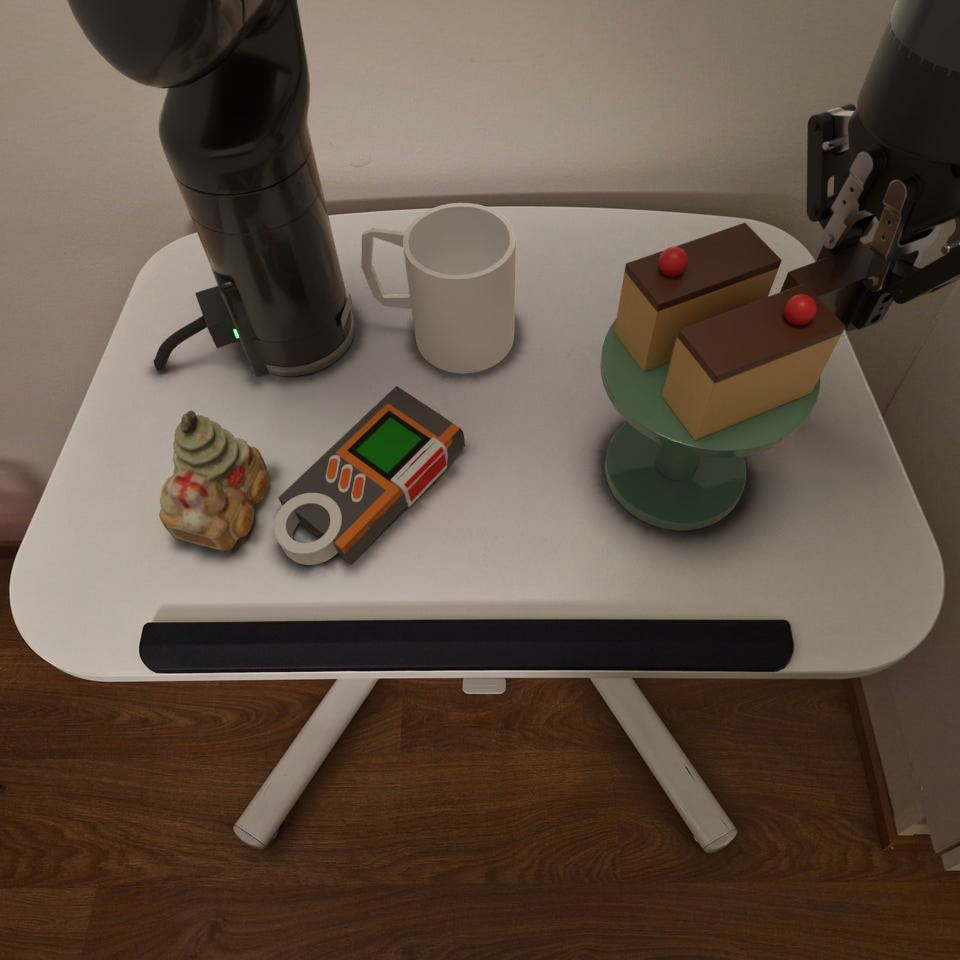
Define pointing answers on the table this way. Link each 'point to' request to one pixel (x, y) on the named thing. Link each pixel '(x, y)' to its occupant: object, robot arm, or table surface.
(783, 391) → the cake
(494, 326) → the cup
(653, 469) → the cake stand
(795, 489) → the table surface
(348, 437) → the electronic device
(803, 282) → the knife
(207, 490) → the ornament
